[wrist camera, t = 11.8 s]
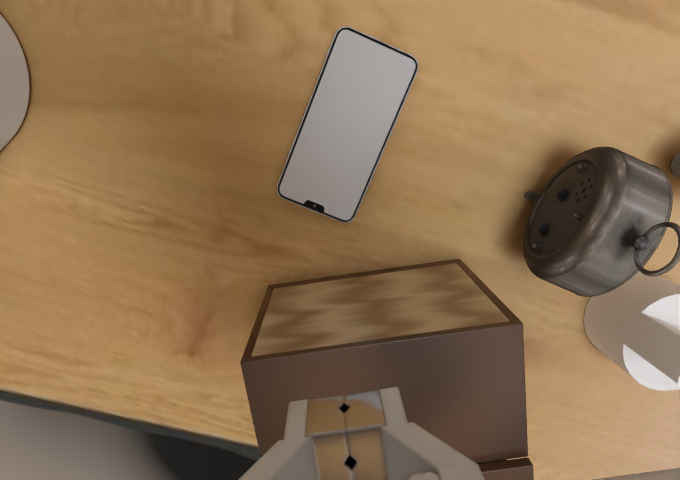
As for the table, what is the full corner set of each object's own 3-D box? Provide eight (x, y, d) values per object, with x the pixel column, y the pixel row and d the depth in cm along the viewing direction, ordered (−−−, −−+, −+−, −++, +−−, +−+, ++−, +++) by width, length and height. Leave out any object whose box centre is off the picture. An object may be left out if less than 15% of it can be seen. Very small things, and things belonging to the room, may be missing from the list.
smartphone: (423, 60, 37) (351, 226, 40) (421, 61, 38) (351, 225, 41) (339, 21, 36) (272, 195, 39) (338, 23, 37) (273, 193, 40)
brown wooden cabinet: (289, 395, 45) (270, 522, 31) (268, 285, 42) (237, 368, 28) (468, 371, 45) (534, 487, 31) (460, 258, 42) (528, 328, 28)
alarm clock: (540, 268, 42) (665, 354, 27) (490, 246, 42) (587, 321, 26) (601, 160, 40) (779, 183, 24) (549, 135, 39) (696, 143, 24)
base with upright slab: (567, 340, 44) (653, 417, 33) (611, 257, 42) (718, 308, 31) (647, 367, 45) (757, 451, 34) (693, 287, 43) (827, 347, 32)
